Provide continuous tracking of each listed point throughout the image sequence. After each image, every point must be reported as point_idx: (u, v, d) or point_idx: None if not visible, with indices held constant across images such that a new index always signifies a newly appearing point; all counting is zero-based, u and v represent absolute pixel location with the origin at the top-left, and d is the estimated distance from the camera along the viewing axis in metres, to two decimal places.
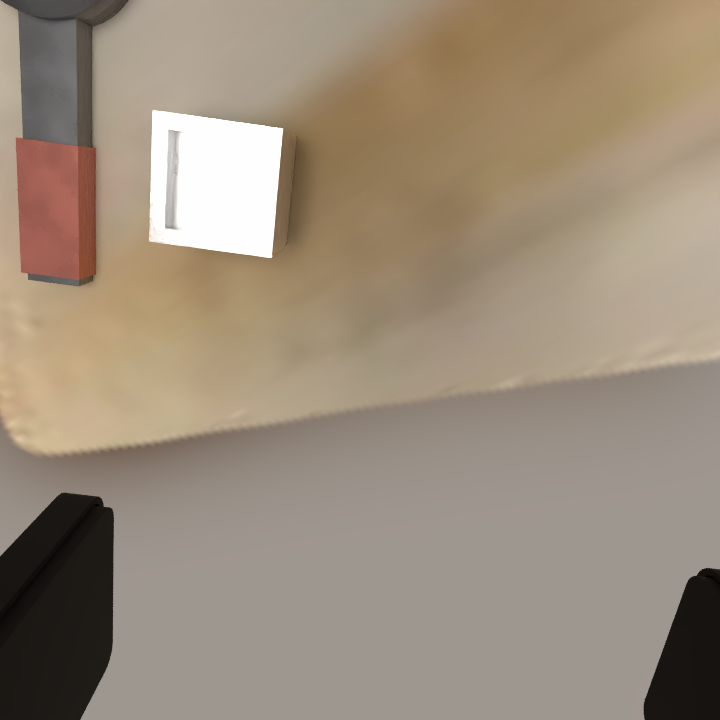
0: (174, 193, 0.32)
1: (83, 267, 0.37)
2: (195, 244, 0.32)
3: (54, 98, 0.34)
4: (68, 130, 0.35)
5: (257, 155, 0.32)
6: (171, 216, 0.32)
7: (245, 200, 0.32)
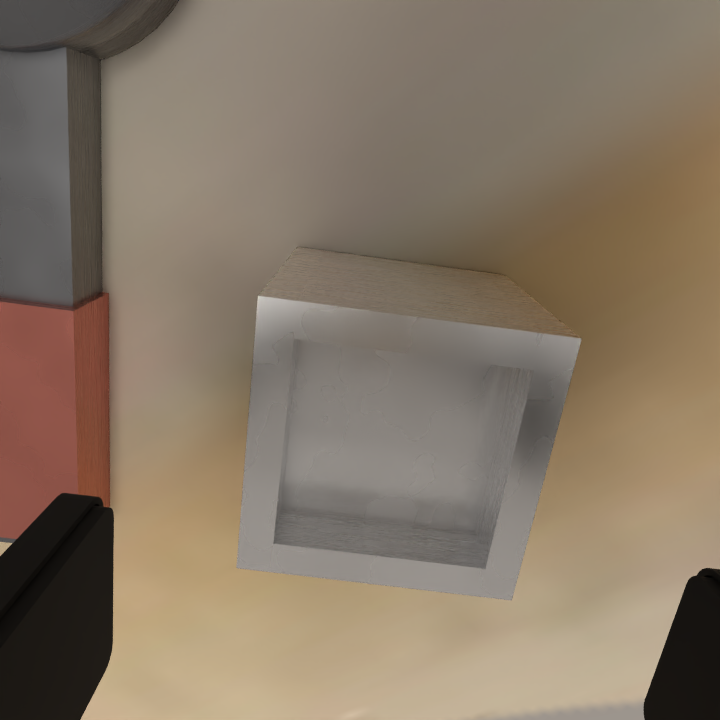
0: (288, 446, 0.14)
1: None
2: (341, 574, 0.14)
3: (23, 214, 0.16)
4: (52, 277, 0.17)
5: (486, 372, 0.14)
6: (281, 497, 0.14)
7: (446, 461, 0.14)
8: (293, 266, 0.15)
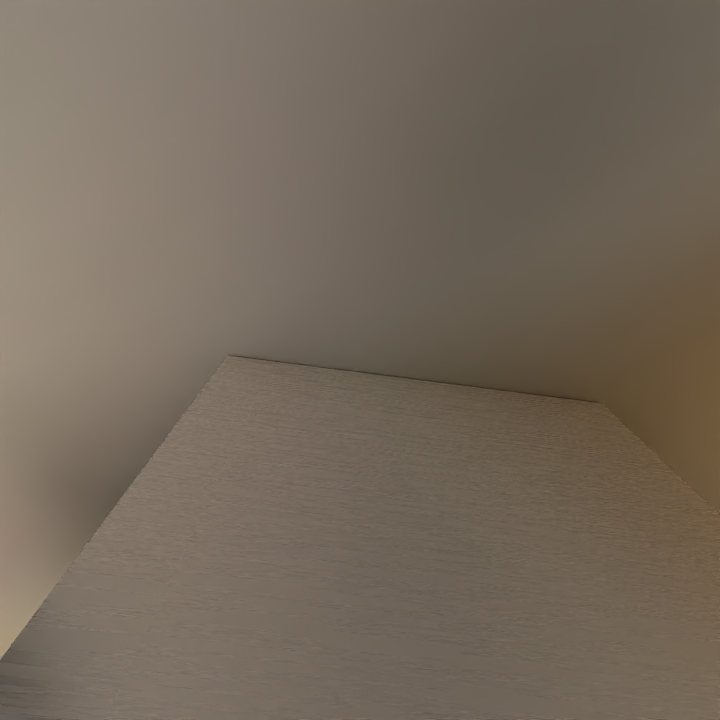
0: None
1: None
2: None
3: None
4: None
5: None
6: None
7: None
8: (188, 443, 0.07)
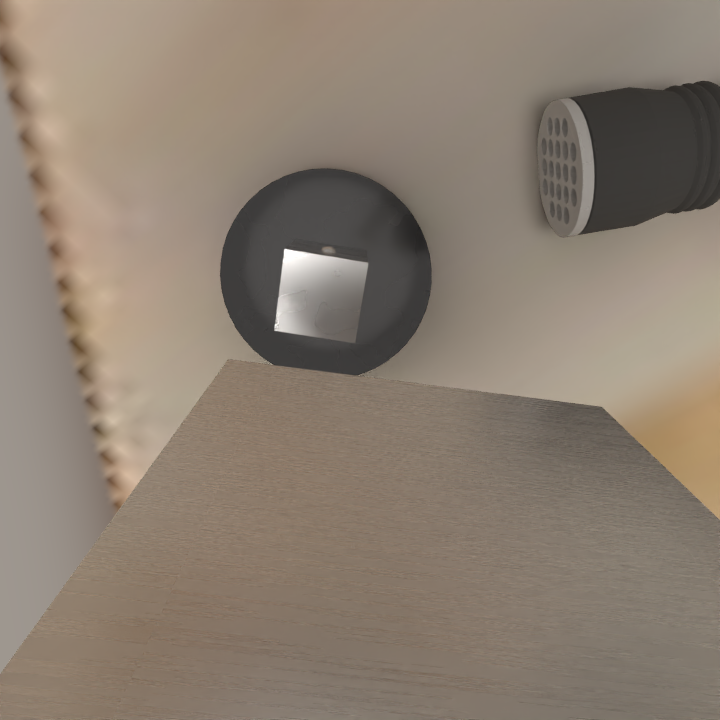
0: None
1: None
2: None
3: None
4: None
5: None
6: None
7: None
8: (189, 448, 0.07)
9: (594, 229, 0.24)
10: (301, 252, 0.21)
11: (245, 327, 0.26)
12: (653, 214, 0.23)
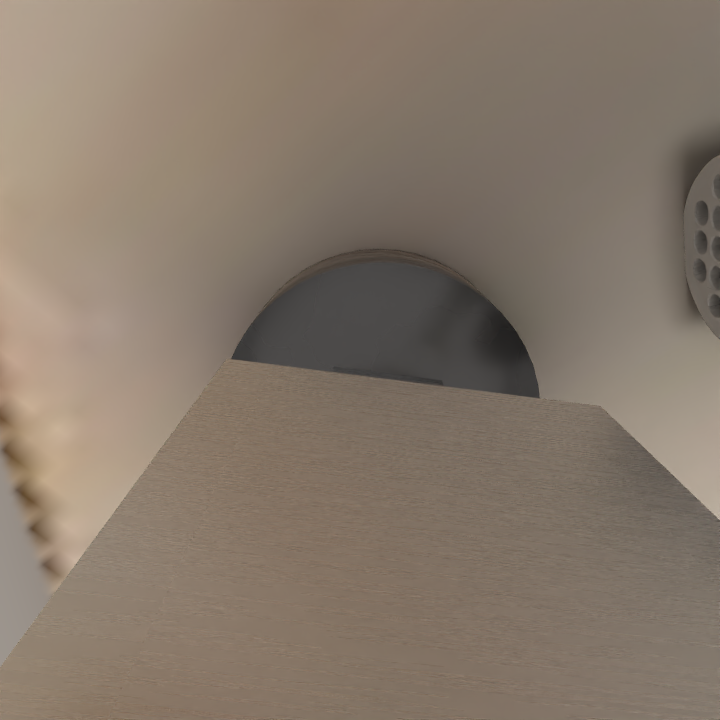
0: None
1: None
2: None
3: None
4: None
5: None
6: None
7: None
8: (187, 447, 0.07)
9: None
10: None
11: None
12: None
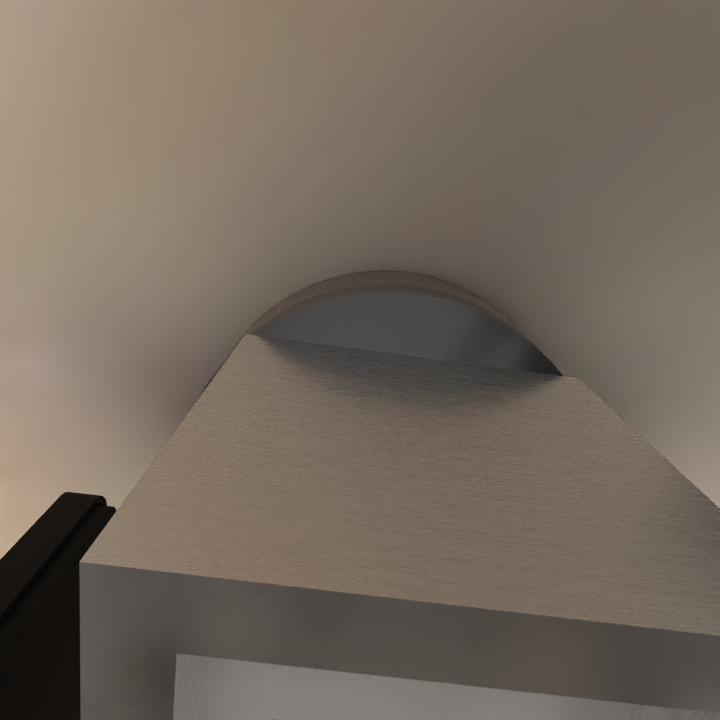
0: None
1: None
2: None
3: None
4: None
5: None
6: None
7: None
8: (220, 399, 0.08)
9: None
10: None
11: None
12: None
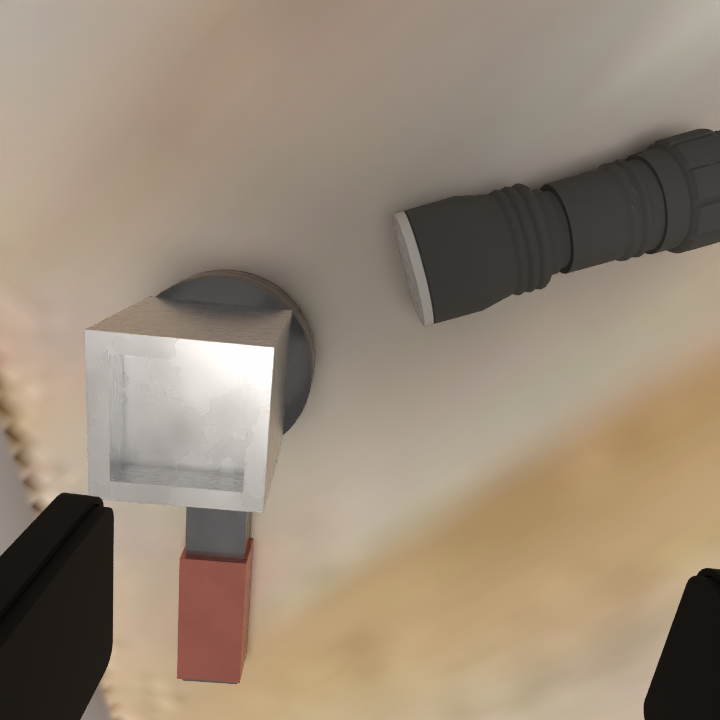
0: (124, 422, 0.23)
1: (242, 664, 0.34)
2: (154, 500, 0.22)
3: (222, 517, 0.31)
4: (234, 545, 0.32)
5: (239, 371, 0.22)
6: (120, 455, 0.23)
7: (224, 428, 0.23)
8: (130, 310, 0.24)
9: (444, 319, 0.27)
10: None
11: None
12: (492, 302, 0.27)
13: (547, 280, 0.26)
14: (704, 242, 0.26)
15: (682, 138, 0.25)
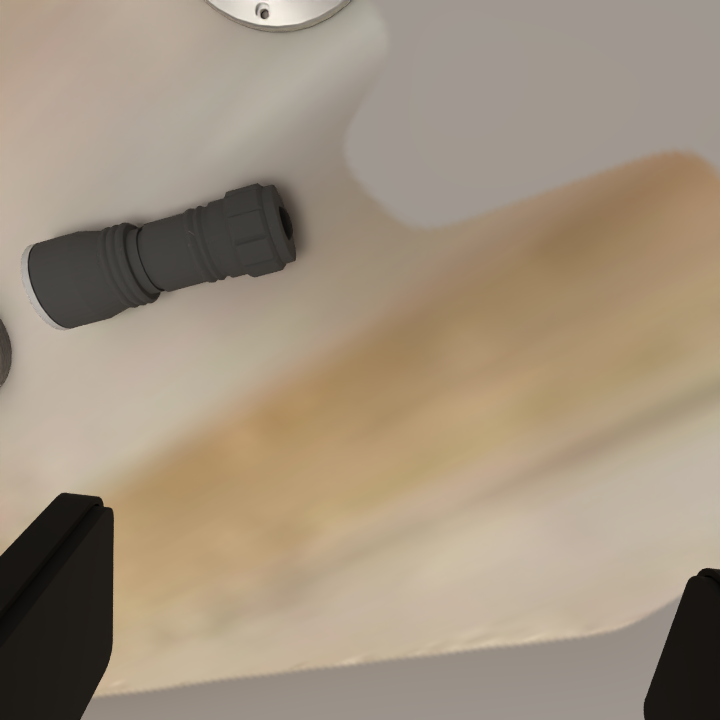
0: None
1: None
2: None
3: None
4: None
5: None
6: None
7: None
8: None
9: (73, 325, 0.36)
10: None
11: None
12: (104, 313, 0.35)
13: (141, 297, 0.35)
14: (259, 270, 0.34)
15: (234, 192, 0.34)
